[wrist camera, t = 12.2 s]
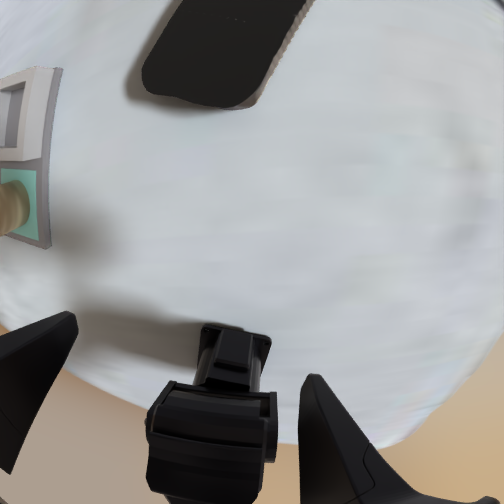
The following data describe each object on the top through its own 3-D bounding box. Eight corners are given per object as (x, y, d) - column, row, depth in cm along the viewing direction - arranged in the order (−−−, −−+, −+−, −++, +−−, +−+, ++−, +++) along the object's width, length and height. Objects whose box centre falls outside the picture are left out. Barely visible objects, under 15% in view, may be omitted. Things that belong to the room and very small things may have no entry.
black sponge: (249, 126, 18) (244, 121, 14) (150, 89, 17) (127, 81, 14) (335, -23, 12) (344, -45, 8) (242, -51, 11) (237, -74, 8)
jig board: (51, 245, 22) (30, 259, 19) (7, 231, 22) (-12, 241, 19) (63, 68, 15) (39, 64, 12) (13, 82, 15) (-8, 81, 12)
